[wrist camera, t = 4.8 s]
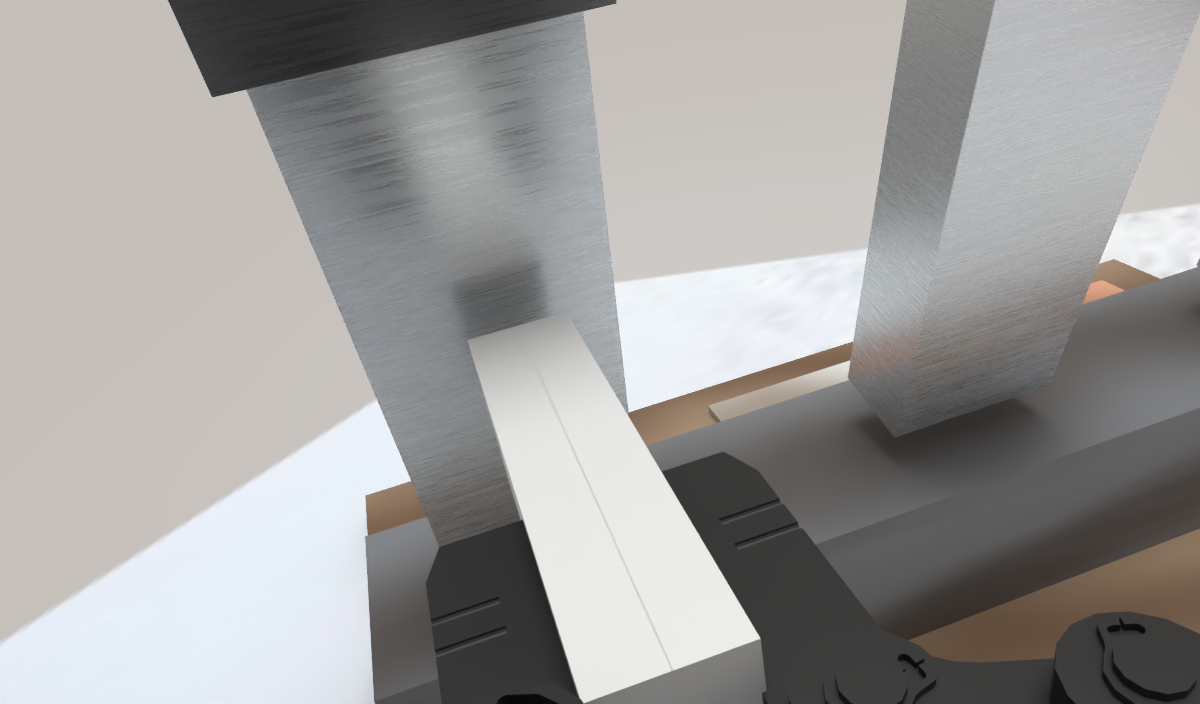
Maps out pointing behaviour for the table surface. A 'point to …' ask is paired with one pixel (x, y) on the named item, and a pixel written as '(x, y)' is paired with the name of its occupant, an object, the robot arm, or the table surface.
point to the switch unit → (931, 491)
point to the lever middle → (1001, 191)
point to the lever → (433, 198)
